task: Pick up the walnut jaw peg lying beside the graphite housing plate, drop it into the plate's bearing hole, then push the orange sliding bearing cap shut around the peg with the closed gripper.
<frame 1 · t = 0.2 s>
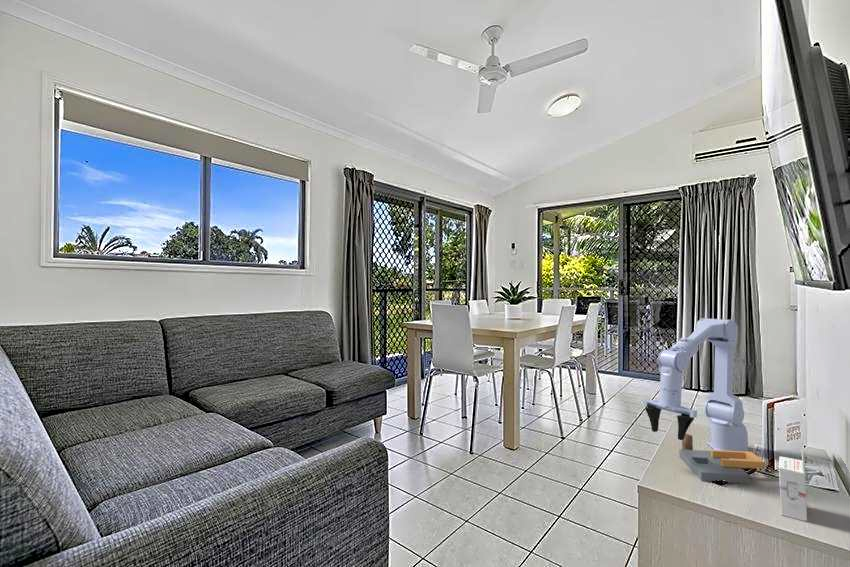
hand: (667, 435, 125), 11 cm above the tv stand, tool pointing down, fingers open, 7 cm apart
bearing cap: (737, 459, 123), point 4 cm above the tv stand, slide at 6.0 cm
ink cartridge box: (792, 511, 102), on the tv stand
jaw peg: (687, 453, 135), on the tv stand
housing: (711, 469, 124), on the tv stand
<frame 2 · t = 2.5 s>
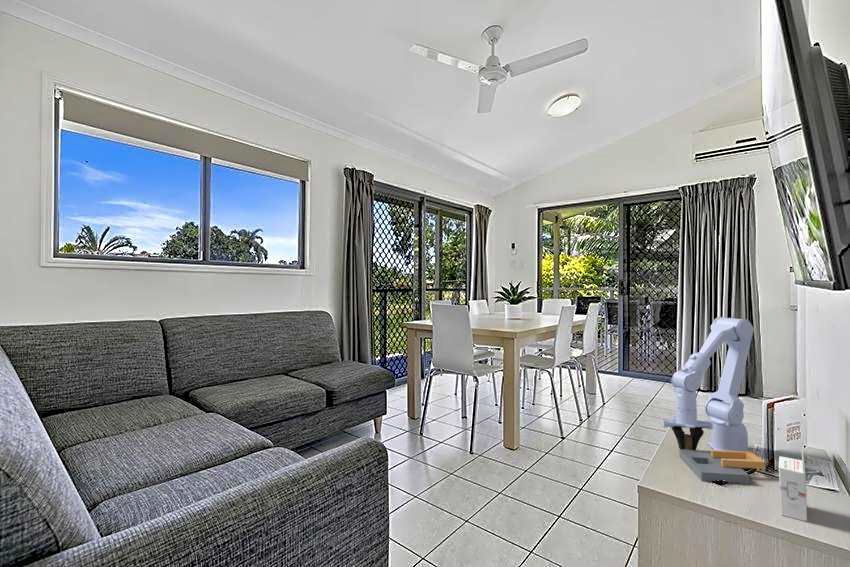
hand: (687, 449, 135), 1 cm above the tv stand, tool pointing down, fingers closed on jaw peg, 3 cm apart
jaw peg: (687, 453, 135), on the tv stand, touching gripper
everything else where it was.
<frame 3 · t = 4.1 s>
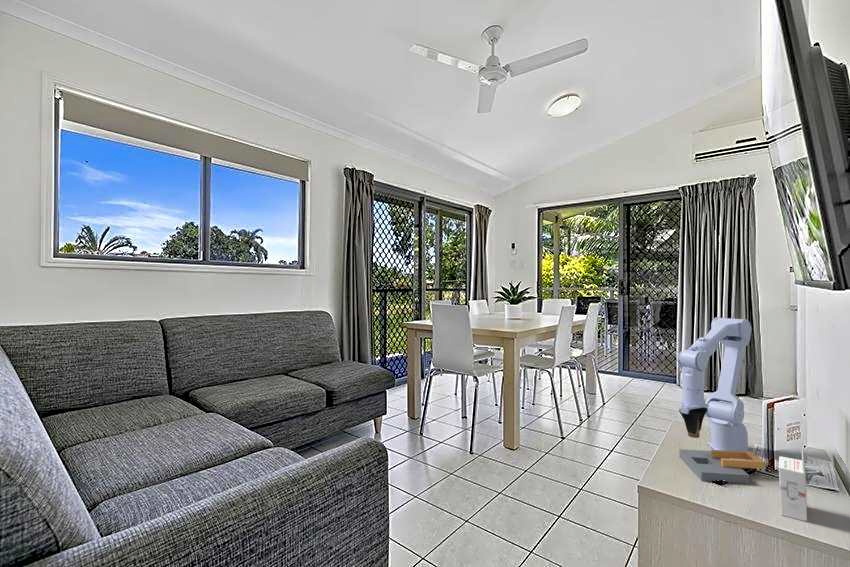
hand: (693, 431, 130), 9 cm above the tv stand, tool pointing down, fingers closed on jaw peg, 3 cm apart
jaw peg: (693, 436, 130), point 8 cm above the tv stand, touching gripper
everything else where it was.
when the fingers open (3 cm above the tv stand, at t = 5.9 s): jaw peg drops 2 cm, resting in housing.
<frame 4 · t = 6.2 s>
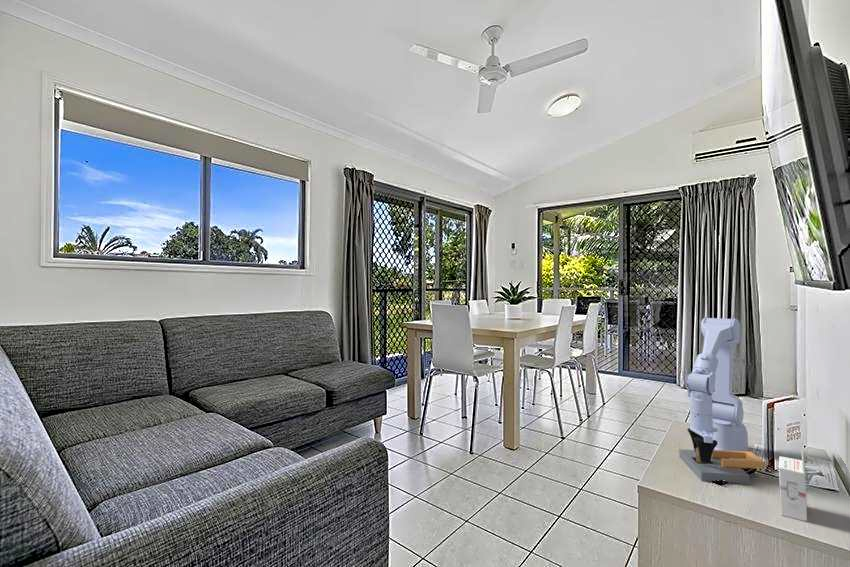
hand: (702, 457, 125), 3 cm above the tv stand, tool pointing down, fingers open, 6 cm apart
jaw peg: (702, 469, 125), resting in housing
everything else where it was.
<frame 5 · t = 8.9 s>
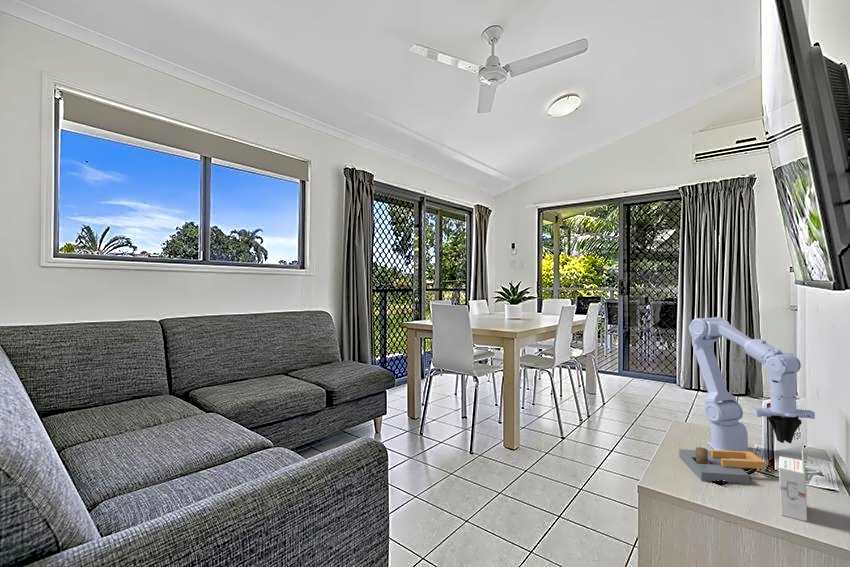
hand: (784, 441, 120), 9 cm above the tv stand, tool pointing down, fingers closed
nothing on the tv stand moved.
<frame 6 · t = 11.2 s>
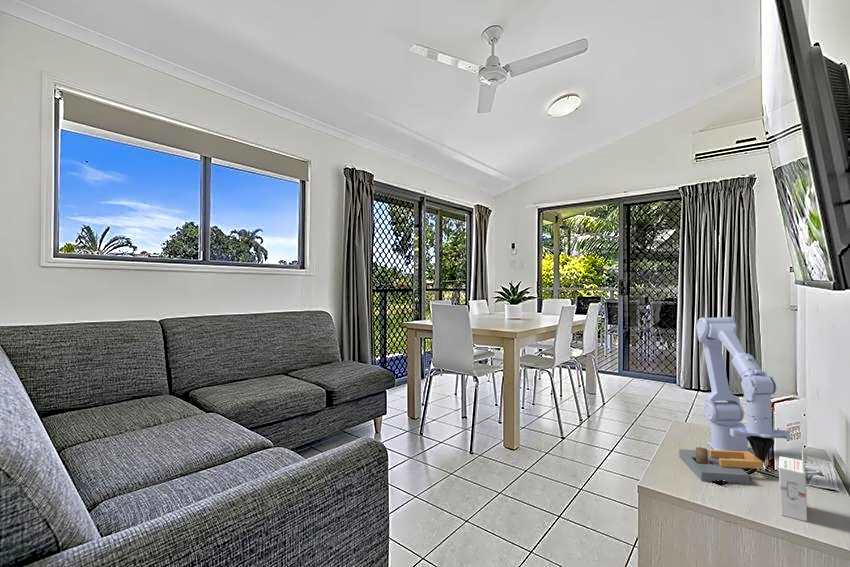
hand: (760, 461, 122), 3 cm above the tv stand, tool pointing down, fingers closed
bearing cap: (735, 458, 123), point 4 cm above the tv stand, slide at 5.5 cm, touching gripper
everything else where it was.
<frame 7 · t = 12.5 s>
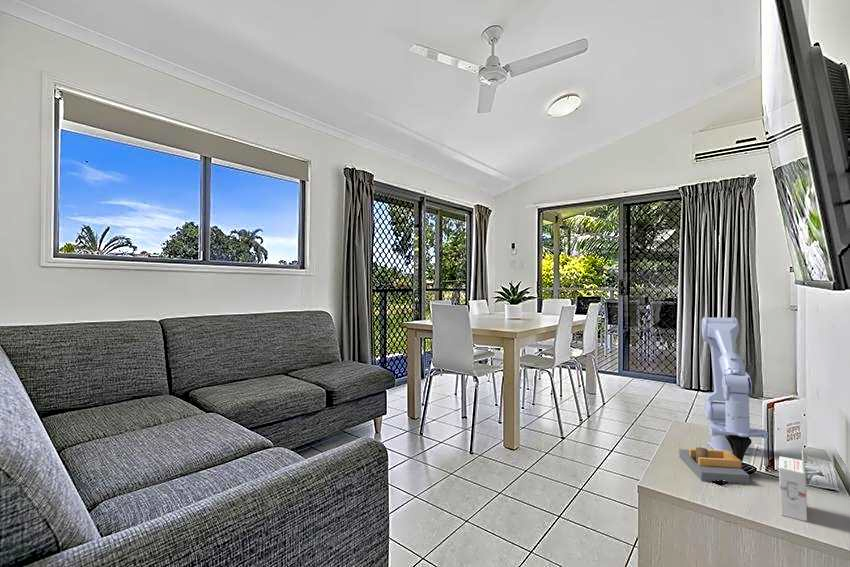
hand: (738, 460, 123), 3 cm above the tv stand, tool pointing down, fingers closed
bearing cap: (714, 457, 124), point 4 cm above the tv stand, slide at -0.1 cm, touching gripper
everything else where it was.
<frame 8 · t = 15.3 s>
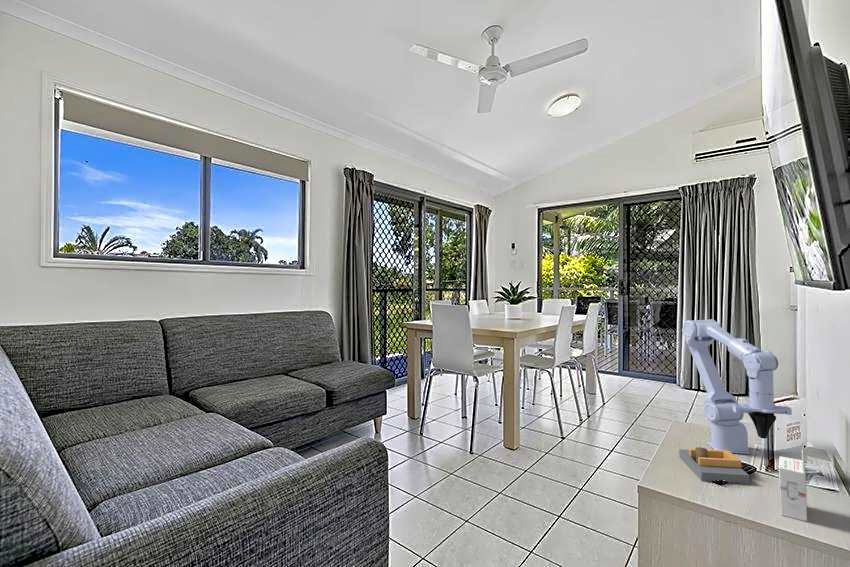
hand: (762, 437, 124), 9 cm above the tv stand, tool pointing down, fingers closed
bearing cap: (714, 457, 124), point 4 cm above the tv stand, slide at 0.0 cm
everything else where it was.
at the end: jaw peg 0.1 cm from the target spot on the housing, point 0.0 cm above the housing's base; jaw peg tilted 1°; bearing cap slide at 0.0 cm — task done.
